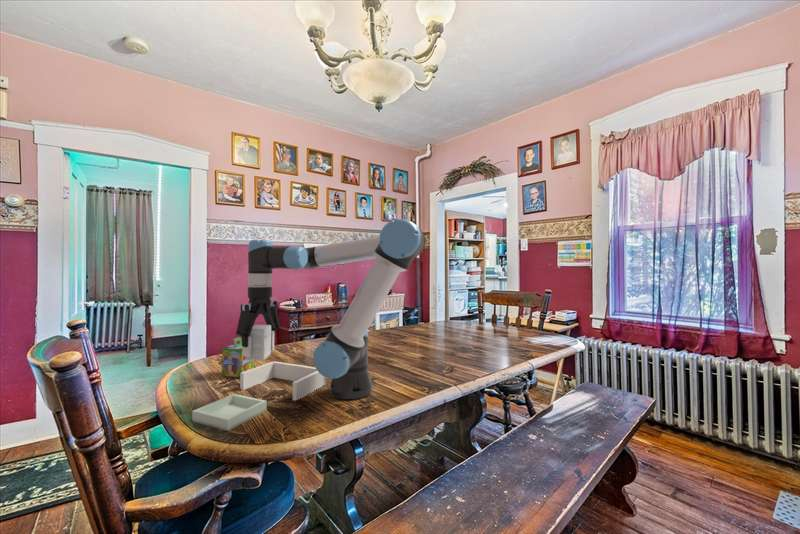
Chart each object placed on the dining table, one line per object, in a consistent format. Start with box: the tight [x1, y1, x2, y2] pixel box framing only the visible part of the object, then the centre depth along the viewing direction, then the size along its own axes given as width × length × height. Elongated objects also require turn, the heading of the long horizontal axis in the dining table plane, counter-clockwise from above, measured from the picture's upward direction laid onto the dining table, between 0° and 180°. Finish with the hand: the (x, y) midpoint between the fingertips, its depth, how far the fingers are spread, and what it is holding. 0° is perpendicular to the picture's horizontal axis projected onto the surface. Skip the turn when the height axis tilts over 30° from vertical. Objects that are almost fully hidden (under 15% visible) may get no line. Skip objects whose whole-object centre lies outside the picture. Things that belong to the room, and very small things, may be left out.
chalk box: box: [221, 336, 256, 379], centre depth 137 cm, size 9×9×15 cm
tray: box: [191, 393, 268, 432], centre depth 99 cm, size 14×14×3 cm
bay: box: [239, 360, 326, 402], centre depth 123 cm, size 25×16×6 cm, turn 68°
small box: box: [247, 324, 272, 362], centre depth 111 cm, size 8×6×10 cm
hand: (259, 352), depth 111 cm, fingers closed on small box, 9 cm apart
